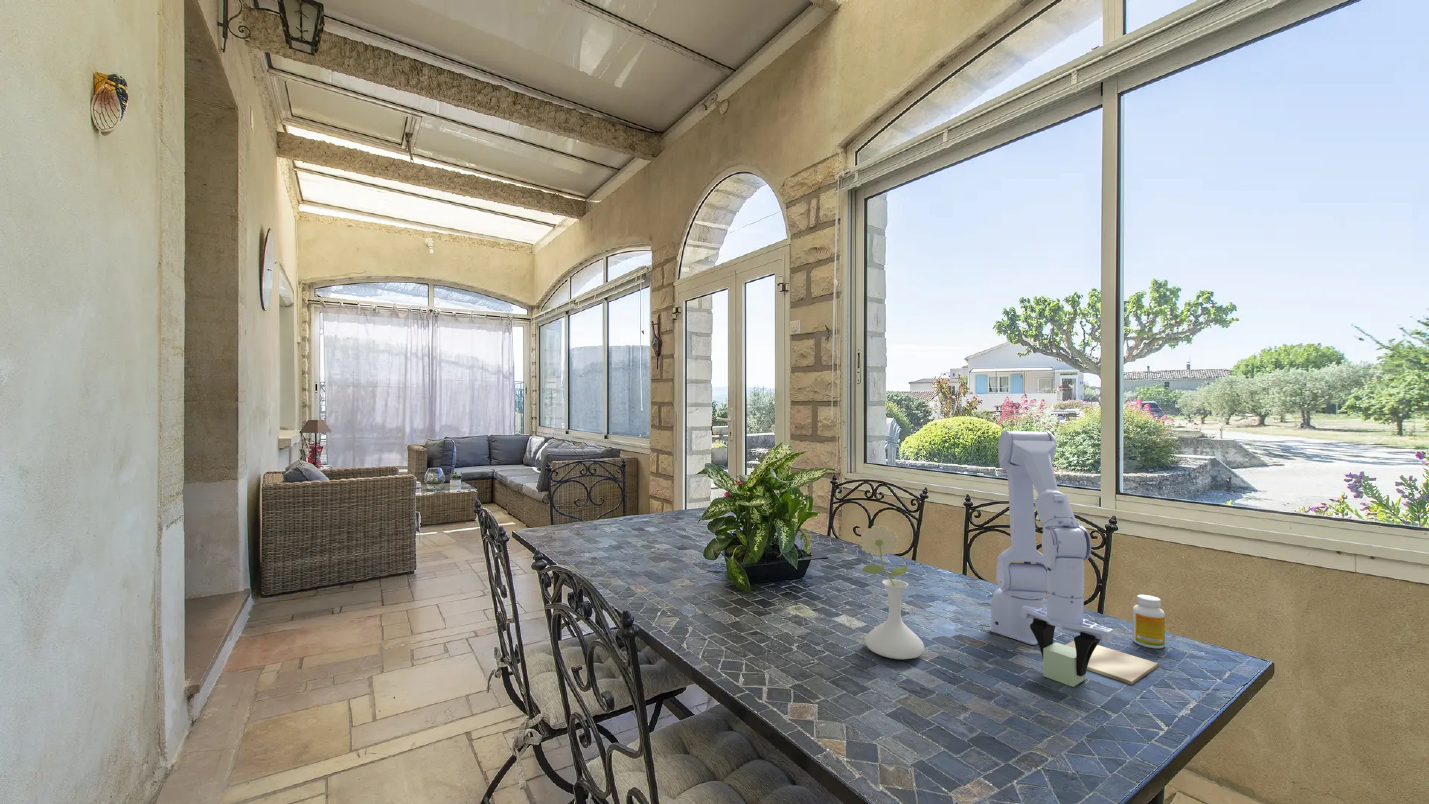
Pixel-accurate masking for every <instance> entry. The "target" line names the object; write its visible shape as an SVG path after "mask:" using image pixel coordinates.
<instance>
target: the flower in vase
mask: <svg viewBox="0 0 1429 804" xmlns="http://www.w3.org/2000/svg"><path fill="white" fill-rule="evenodd" d="M860 535H861V536H860V537H859V538H858V543H859V546H860V547H861V548H860V549H861V550H862V552H865V554H871V555H872V556H878V557H880V565H881V566H880V565H878V564H875V563H871V564H868V565H866V566H865V567H863V568H862V569H861V572H863V573H868V574H871V575H878V574H879V573H881V572H882V571H884V573H885V575H886V576H887V578H888V579H883V580H882V581H881V583H882V585H883V586H884V588H885V591H886V593H887V597H888V598H887V600H888V614H887V615H888V616H887V618H886V620H885V621H884V622H882V623H881V624H879V625H878V626H876V627H875V628H873V629H871V630H870V631H869V632H868V633H866V636H865V638H864V644H865V645H866V647H867V648H868V649H869V650H870V651H871V652H873V653H875V654H877V655H879V656H881V657H885V658H889V659H894V660H909V659H916V658H918V657H920V656H922V654H924V652H925V650H926V648H925V645H924V641H922V639H921V638H920V637H919V636H918V635H917V634H916V633H915V632H914V631H913V630H912V629H911V628H909V627H908V626H907V625H906V624H905V623H904V621H903V619H902V615H901V614H902V613H901V607H902V600H903V599H902V597H903V595H904V592H905V591H906V589H907V588H908V586H909V583H908V582H906V581H904V580H900V579H895V578H894V577H900V576H902V575H904V574H905V572H907V570H908V567H909V564H907V565H903V566H899V567H896V568H893V570H892V571H891V572H890V575H889V573H888V572H887V570H886V568H885V566H884V563H883V555H884V556H885V555H887V554H888V553H889V554H890V553H893V552H894V550H895V549H896V548H897V546H898V545H899V544H900V542H899V537H898V534H897V533H896V530H895V529H890V528H889V526H888V525H886V526H883V524H882V525H881V524H880V525H878V526H877V525H872V526H871V528H869V527H868V528H865V530H864V531H863V532H862V533H861V534H860ZM891 577H893V578H894V579H892V578H891Z"/></svg>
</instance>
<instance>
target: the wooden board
mask: <svg viewBox="0 0 1429 804" xmlns="http://www.w3.org/2000/svg"><path fill="white" fill-rule="evenodd" d="M1065 645H1066V646H1070V647H1073V648H1076V647H1075V642H1074V640H1072V641H1070V642H1069V643H1066V644H1065ZM1158 667H1159V663H1158V662H1155V661H1152V660H1149V659H1145V658H1142V657H1138V656H1136V655H1131V654H1128V653H1125V652H1123V651H1119V650H1116V649H1112V648H1109V647H1106V646H1102V645H1099V644H1098V645H1097V646H1096V648H1095V649H1094V651H1093V653H1092V655H1091V657H1090V660H1089V663H1088V666H1087V670H1086V671H1090V672H1094V673H1096V674H1099V675H1102V676H1105V677H1108V678H1111V679H1113V680H1117V681H1118V682H1122V683H1126V684H1129V685H1131V686H1133V685H1134V684H1135V683H1137V682H1139V680H1141V679H1143V678H1144V677H1145V676H1147V675H1148V674H1149V673H1151V672H1152V671H1154V670H1155V669H1156V668H1158Z"/></svg>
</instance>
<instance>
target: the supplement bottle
mask: <svg viewBox="0 0 1429 804" xmlns="http://www.w3.org/2000/svg"><path fill="white" fill-rule="evenodd" d="M1161 601H1162V600H1161V598H1159V597H1158V596H1153V595H1150V594H1149V595H1148V594H1137V595H1136V603H1138V604H1135V605H1134V606H1132V641H1133V642H1134V643H1135V644H1137V645H1139V646H1142V647H1144V648H1149V649H1163V648H1165V645H1166V643H1165V642H1166V639H1165V638H1166V637H1165V635H1166V632H1165V631H1166V621H1165V620H1166V614H1165V611H1164V610H1163V609H1162V608H1160V607H1161V606H1162V604H1161V603H1162V602H1161Z"/></svg>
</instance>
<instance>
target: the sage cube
mask: <svg viewBox="0 0 1429 804" xmlns="http://www.w3.org/2000/svg"><path fill="white" fill-rule="evenodd" d="M1042 661H1043V662H1042V676H1043V677H1045V678H1048V679H1051V680H1053V681H1056V682H1058V683H1061V684H1063V685H1067V686H1069V687H1072V688H1074V687H1076V686H1077V685H1079V684H1081V683H1082V682H1084V681H1085V680H1086V674H1085V675H1083V676H1082V677H1080V676H1077V672H1076V661H1077V656H1076V648H1073V647H1070V646H1066V644H1063V643H1060V642H1058V641H1056V642H1055V641H1054V642H1053V644H1051V645H1049V646H1047V647H1045V648H1043V658H1042Z"/></svg>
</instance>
